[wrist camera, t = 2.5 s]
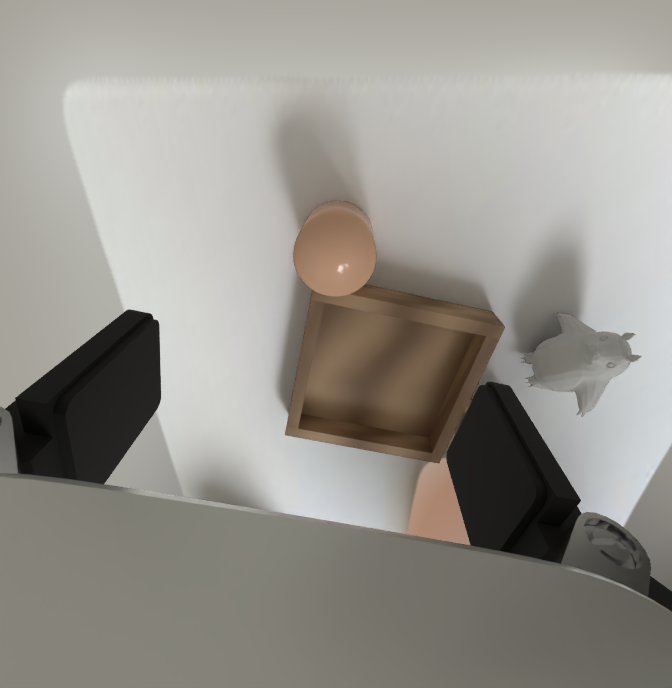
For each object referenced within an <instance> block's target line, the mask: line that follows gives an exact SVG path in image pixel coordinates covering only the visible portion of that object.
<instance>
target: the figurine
mask: <svg viewBox="0 0 672 688" xmlns="http://www.w3.org/2000/svg"><path fill="white" fill-rule="evenodd" d="M558 314H559V315H557V314H553V315H556V316H557V317H558V319H559V323H560V326H561V334H560V335H558V336H556V337H553V338H550V339H547V340H545V341H543V342H542V343H541V344H539V345H538V346H537V348H536V350H535V351H533V352H530V353H527V354H523V355H526V356H525V357H524V358H522V359H525V361H523V362H521V363H528V364H532V367H533V371H534V375H533V376H531V377H529V378H524V379H529V382H526V383H531V386H529V387H532V386H533V387H537V388H545V389H550V390H553V391H558V392H574V391H575V393H576V396H577V400H578V406H579V412H578V413H577V415H578V414H580V413H581V412H582V416H581V417H583V416H584V414H585V413H586V412H589V411H590V410H592V409H593V408H594V406H595V405H596V403H597V401H598V400H599V398H600V396H601V394H602V392H603V391H604V389H605V387H606V385H607V384H608V382H609V380H610V379H612V378H613V377H615V376H617V375H619V374H621V373H622V372H624V371H625V370H626V369H627V368H628V366H629V365H630V363H631V362H636V361H638V360H639V359H640V358H641V357H642V356H638V355H632V353H631V348H630V346H629V344H628V342H627V341H626V340H629V339H631V338H632V337H633V336H634V335H635V334H634V333H624V334H623V335H622V336H620V335H618V334H616V333H611V332H596V331H595V330H593V329H591V328H590V327H588V326H586V325H585V324H583V323H582V322H581V321H579V320H578V319H576V318H575V317H573V316H571V315H569V314H561V313H558Z"/></svg>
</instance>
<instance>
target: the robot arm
mask: <svg viewBox="0 0 672 688" xmlns="http://www.w3.org/2000/svg"><path fill="white" fill-rule="evenodd" d="M15 399H16V401H14V402H13V403H12V404H11V405H9V406H8V407H7V408H6V409H4V408H2V407H0V688H672V591H670V590H669V589H667V588H666V587H665V586H663V585H662V584H661V583H659V582H658V581H657V580H655V579H654V578H652V577H651V576H650V574H651V563H650V559H649V557H648V555H647V553H646V551H645V549H644V548H643V547H642V545H641V544H640V543H639V541H638V540H637V539H636V538H635V537H634V536H633V535H632V534H631V533H630V532H629V531H628V530H626V529H625V528H624V527H622V526H621V525H620V524H618V523H617V522H615V521H613V520H611V519H609V518H608V517H606V516H603V515H600V514H597V513H590V512H586V513H583V514H582V513H581V512H580V510H579V508H578V507H577V505H578V504H579V503H580V501H581V500H580V498H579V497H578V495H577V493H576V492H575V490H574V488H573V487H572V485H571V484H570V482H569V480H568V479H567V477H566V476H565V474H564V472H563V471H562V469H561V468H560V466H559V464H558V463H557V461H556V459H555V458H554V456H553V455H552V453H551V451H550V450H549V448H548V447H547V445H546V443H545V442H544V440H543V439H542V437H541V435H540V434H539V432H538V430H537V429H536V427H535V426H534V424H533V422H532V421H531V419H530V418H529V416H528V414H527V413H526V411H525V410H524V408H523V406H522V405H521V403H520V401H519V400H518V398H517V397H516V395H515V393H514V392H513V390H512V389H511V387H510V386H508V385H504V384H499V383H494V382H487V383H486V384H485V386H484V385H481V386H480V387H479V388H478V390H477V392H476V394H475V396H474V398H473V400H472V402H471V404H470V406H469V408H468V410H467V412H466V414H465V416H464V418H463V420H462V422H461V424H460V426H459V428H458V430H457V432H456V435H455V437H454V439H453V441H452V443H451V445H450V447H449V449H448V451H447V464H448V467H449V471H450V474H451V478H452V482H453V485H454V489H455V492H456V495H457V499H458V503H459V506H460V509H461V513H462V517H463V520H464V524H465V527H466V531H467V534H468V537H469V541H470V544H471V546H470V545H464V544H458V543H453V542H447V541H441V540H436V539H430V538H424V537H419V536H412V535H407V534H402V533H396V532H390V531H384V530H379V529H373V528H367V527H361V526H355V525H350V524H344V523H338V522H332V521H326V520H320V519H314V518H308V517H302V516H297V515H291V514H285V513H279V512H273V511H267V510H261V509H255V508H249V507H243V506H237V505H231V504H225V503H218V502H212V501H206V500H200V499H194V498H188V497H182V496H176V495H170V494H163V493H157V492H151V491H145V490H139V489H132V488H124V487H119V486H111V485H105V484H104V483H105V482H106V481H107V479H108V478H109V476H110V475H111V474H112V472H113V471H114V469H115V468H116V466H117V465H118V464H119V462H120V461H121V459H122V458H123V457H124V455H125V454H126V452H127V451H128V449H129V448H130V447H131V445H132V444H133V442H134V441H135V440H136V438H137V437H138V435H139V434H140V433H141V431H142V430H143V428H144V427H145V425H146V424H147V423H148V421H149V420H150V418H151V417H152V416H153V414H154V413H155V411H156V410H157V408H158V406H159V404H160V400H161V376H160V337H159V322H158V321H157V320H153V316H152V315H151V314H150V313H145V312H140V311H135V310H127V311H125V312H124V313H123V314H121V315H120V316H119V317H118V318H117V319H115V320H114V321H113V322H111V323H110V324H109V325H108V326H106V327H105V328H104V329H103V330H101V331H100V332H99V333H97V334H96V335H95V336H94V337H92V338H91V339H90V340H89V341H87V342H86V343H85V344H83V345H82V346H81V347H80V348H78V349H77V350H76V351H74V352H73V353H72V354H71V355H69V356H68V357H67V358H66V359H64V360H63V361H62V362H61V363H59V364H58V365H57V366H55V367H54V368H53V369H52V370H50V371H49V372H48V373H46V374H45V375H44V376H43V377H41V378H40V379H39V380H38V381H36V382H35V383H34V384H33V385H31V386H30V387H29V388H27V389H26V390H25V391H24V392H22V393H21V394H20V395H19V396H18V397H16V398H15Z"/></svg>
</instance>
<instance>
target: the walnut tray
mask: <svg viewBox="0 0 672 688" xmlns="http://www.w3.org/2000/svg"><path fill="white" fill-rule="evenodd" d="M504 328H505V326H504V325H503V324H502V323H501V321H500V320H499V319H498V318H497V316H496V315H495V314H494V312H490V311H486V310H481V309H476V308H472V307H467V306H462V305H458V304H453V303H448V302H444V301H439V300H434V299H430V298H425V297H420V296H416V295H411V294H406V293H401V292H397V291H392V290H387V289H383V288H378V287H373V286H369V285H364V286H362V287H361V288H360V289H359V290H357V291H355V292H353V293H351V294H348V295H344V296H337V297H336V296H326V295H323V294H320V293H317V292H315V291H314V290H312V295H311V300H310V306H309V311H308V316H307V321H306V327H305V332H304V337H303V342H302V348H301V353H300V358H299V363H298V369H297V374H296V379H295V385H294V390H293V395H292V400H291V406H290V411H289V416H288V421H287V427H286V432H285V435H287V436H293V437H298V438H304V439H309V440H315V441H320V442H325V443H331V444H336V445H342V446H347V447H353V448H358V449H364V450H369V451H375V452H380V453H385V454H391V455H396V456H402V457H407V458H413V459H418V460H424V461H429V462H434V463H440V460H441V458H442V456H443V454H444V452H445V450H446V448H447V446H448V444H449V442H450V440H451V438H452V436H453V434H454V432H455V429H456V427H457V425H458V423H459V421H460V419H461V417H462V415H463V413H464V411H465V409H466V407H467V405H468V403H469V401H470V399H471V396H472V394H473V392H474V390H475V388H476V386H477V384H478V382H479V380H480V378H481V376H482V374H483V372H484V370H485V368H486V365H487V363H488V361H489V359H490V357H491V355H492V353H493V351H494V349H495V347H496V345H497V343H498V341H499V339H500V337H501V335H502V332H503V330H504Z"/></svg>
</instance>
